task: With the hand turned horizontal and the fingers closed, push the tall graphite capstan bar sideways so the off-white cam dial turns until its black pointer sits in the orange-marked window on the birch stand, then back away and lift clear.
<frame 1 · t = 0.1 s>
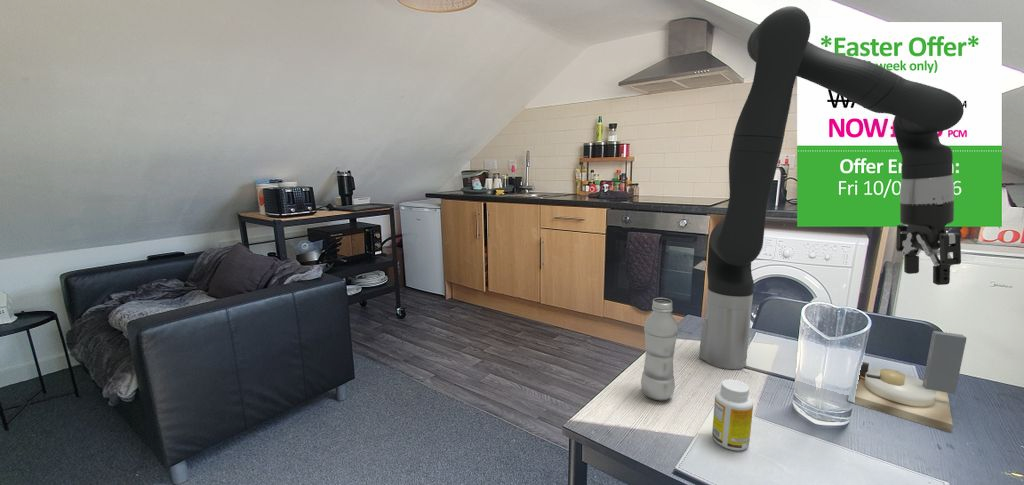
hand: (925, 278, 84), 22 cm above the table, tool pointing down, fingers open, 8 cm apart
cam dial: (912, 362, 78), point 8 cm above the table, hinge at 15.0°
plastic bottle: (656, 396, 83), on the table
level stand: (896, 400, 80), on the table
supplement bottle: (729, 442, 69), on the table
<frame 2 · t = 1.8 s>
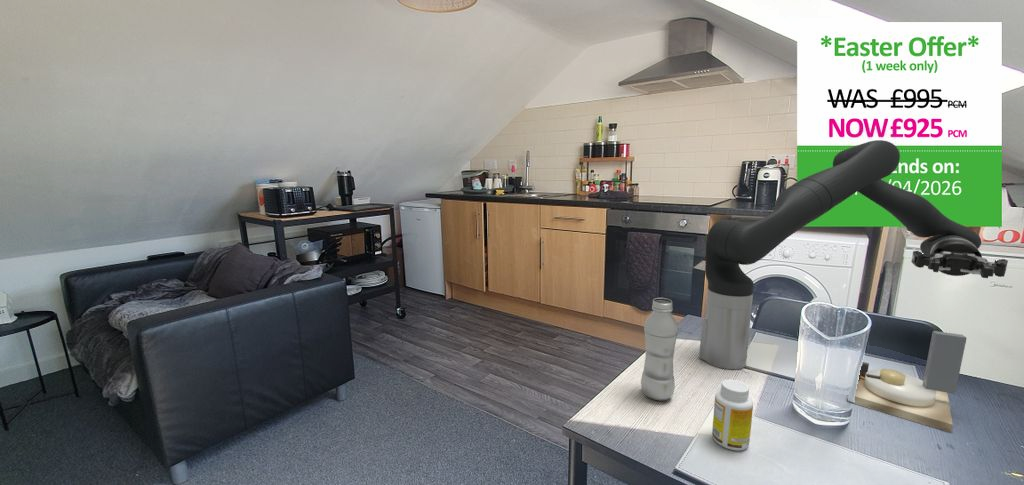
hand: (960, 269, 80), 25 cm above the table, tool horizontal, fingers open, 6 cm apart
nothing on the table moved.
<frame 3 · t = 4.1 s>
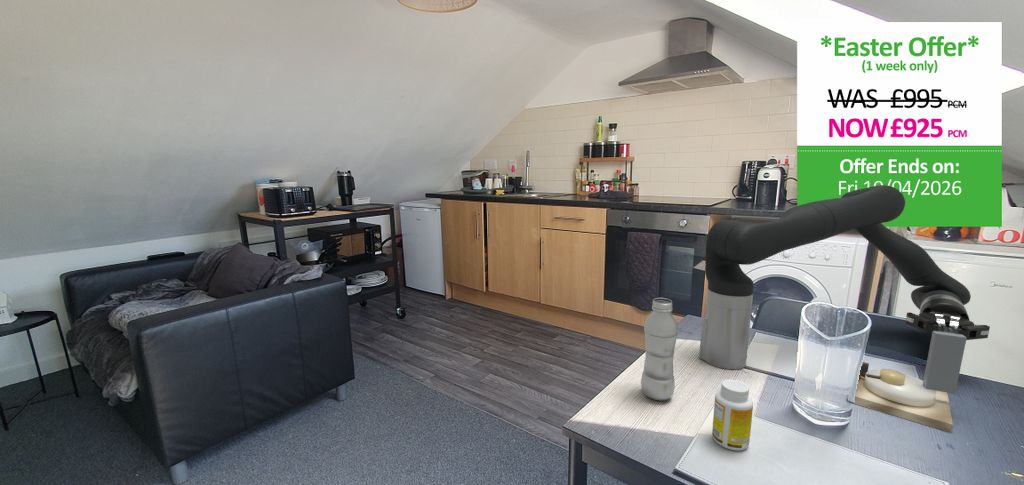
hand: (948, 337, 82), 11 cm above the table, tool horizontal, fingers closed
nothing on the table moved.
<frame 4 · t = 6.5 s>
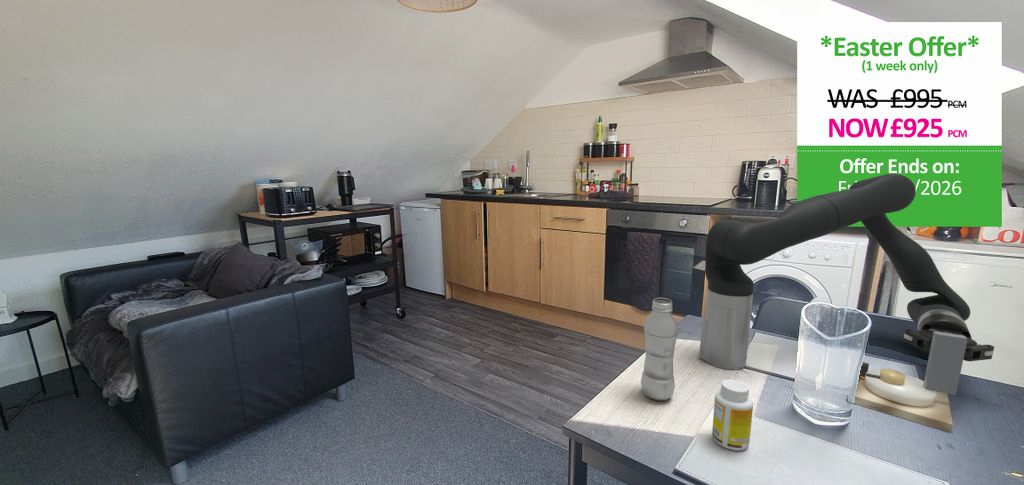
hand: (950, 359, 76), 10 cm above the table, tool horizontal, fingers closed
cam dial: (912, 362, 78), point 8 cm above the table, hinge at 10.9°, touching gripper
everything else where it was.
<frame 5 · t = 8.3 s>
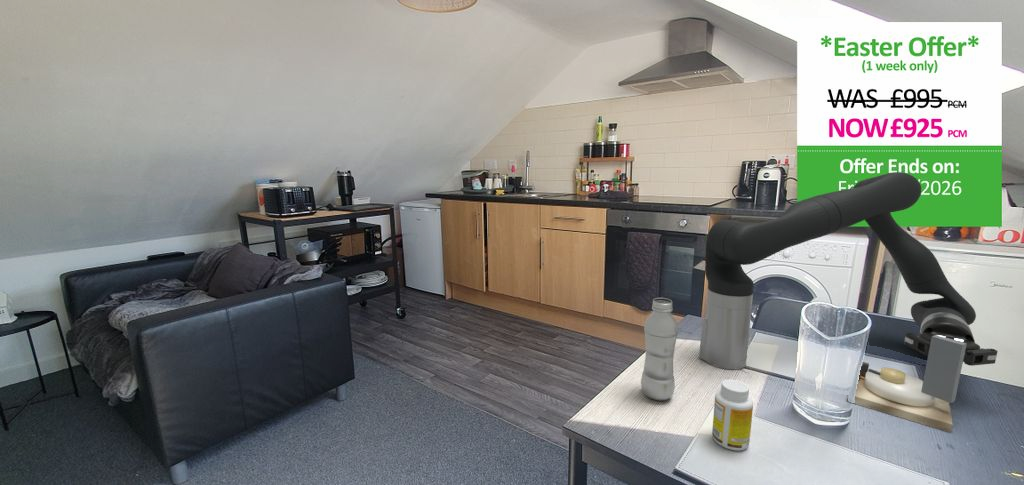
hand: (951, 363, 74), 10 cm above the table, tool horizontal, fingers closed
cam dial: (911, 363, 78), point 8 cm above the table, hinge at -22.4°
everything else where it was.
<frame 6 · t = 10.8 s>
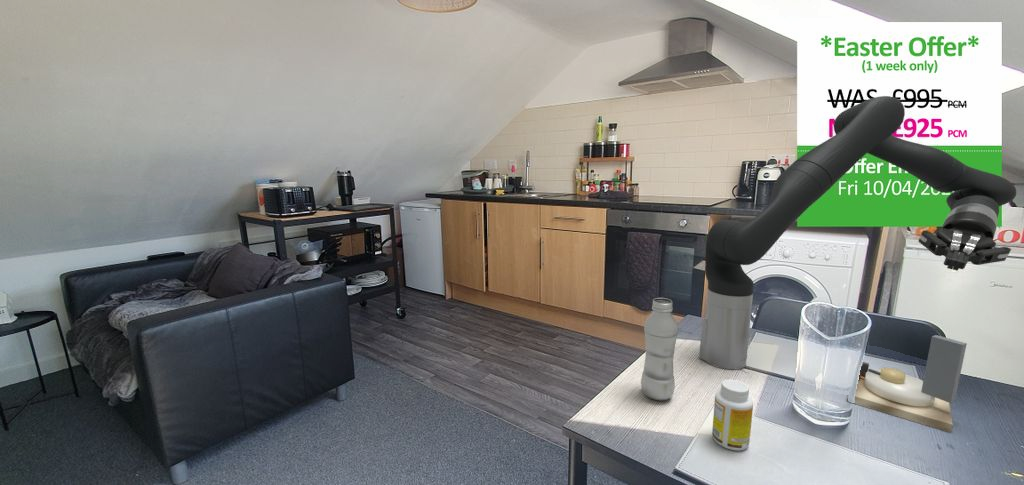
hand: (954, 265, 77), 27 cm above the table, tool tilted 70°, fingers closed
nothing on the table moved.
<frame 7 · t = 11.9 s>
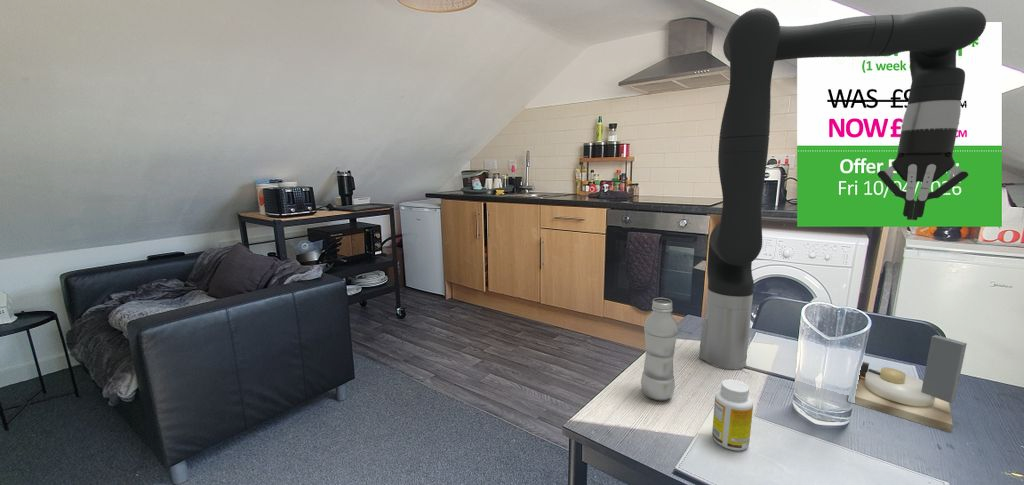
hand: (912, 219, 80), 35 cm above the table, tool pointing down, fingers closed
nothing on the table moved.
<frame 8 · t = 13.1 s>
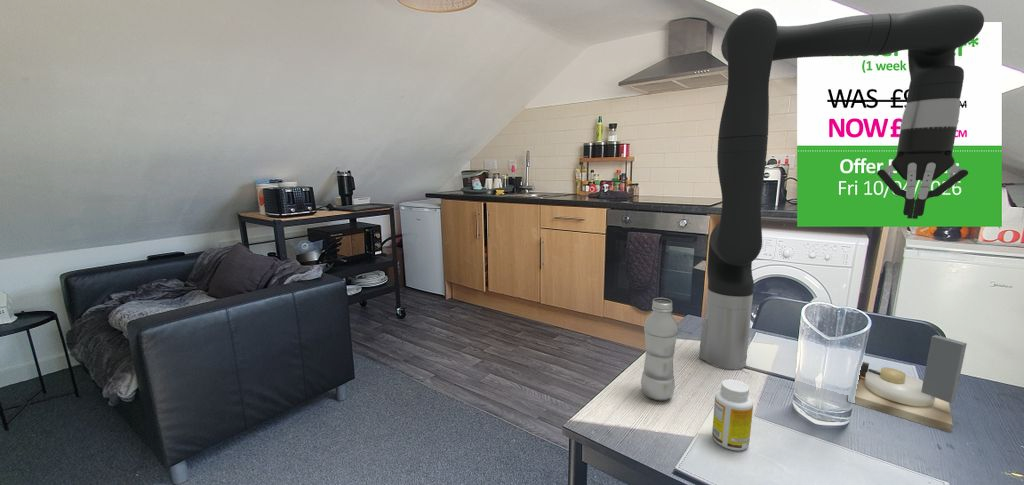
hand: (912, 218, 80), 35 cm above the table, tool pointing down, fingers closed
nothing on the table moved.
at the end: cam dial at -22° (first picture: +15°) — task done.
